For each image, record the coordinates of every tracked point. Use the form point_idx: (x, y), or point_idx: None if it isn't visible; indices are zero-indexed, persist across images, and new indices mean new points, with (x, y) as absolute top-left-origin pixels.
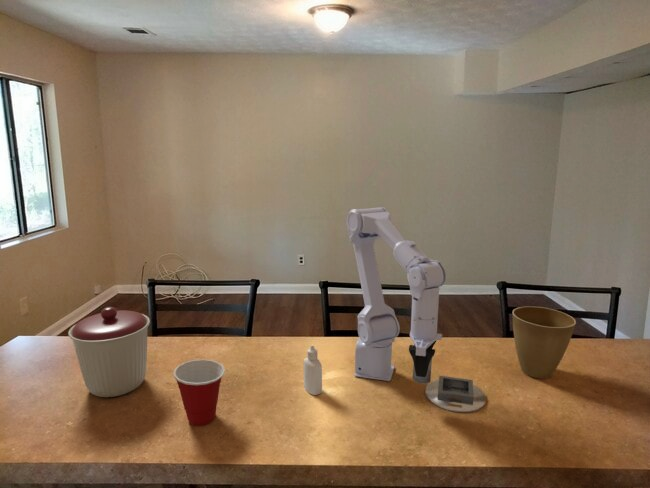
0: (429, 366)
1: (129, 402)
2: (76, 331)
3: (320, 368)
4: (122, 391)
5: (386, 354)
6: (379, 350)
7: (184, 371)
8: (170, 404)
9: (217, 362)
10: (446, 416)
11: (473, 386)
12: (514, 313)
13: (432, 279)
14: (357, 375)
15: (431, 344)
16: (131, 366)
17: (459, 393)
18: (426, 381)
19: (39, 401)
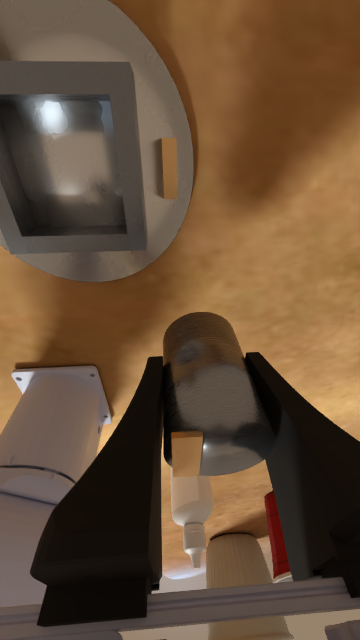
0: (243, 375)
1: (256, 527)
2: None
3: (204, 499)
4: (251, 540)
5: (61, 440)
6: (75, 468)
7: (290, 576)
8: (255, 514)
9: (277, 580)
10: (227, 200)
11: None
12: None
13: None
14: (111, 419)
15: (153, 496)
16: (254, 575)
17: (121, 153)
18: (231, 328)
19: (262, 548)
